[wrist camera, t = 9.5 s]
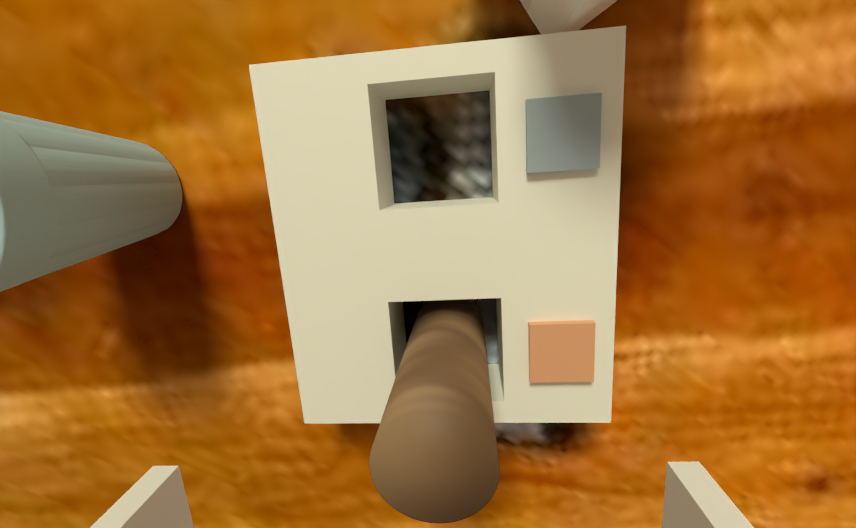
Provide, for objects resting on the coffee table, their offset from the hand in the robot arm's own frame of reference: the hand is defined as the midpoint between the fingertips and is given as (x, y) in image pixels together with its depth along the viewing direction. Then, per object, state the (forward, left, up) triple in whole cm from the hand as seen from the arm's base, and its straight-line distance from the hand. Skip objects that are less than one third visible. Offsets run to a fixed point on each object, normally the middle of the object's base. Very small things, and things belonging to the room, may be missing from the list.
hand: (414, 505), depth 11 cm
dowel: (0, 0, -14) cm, 14 cm away
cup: (-18, +9, -14) cm, 24 cm away
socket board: (0, +5, -14) cm, 14 cm away
